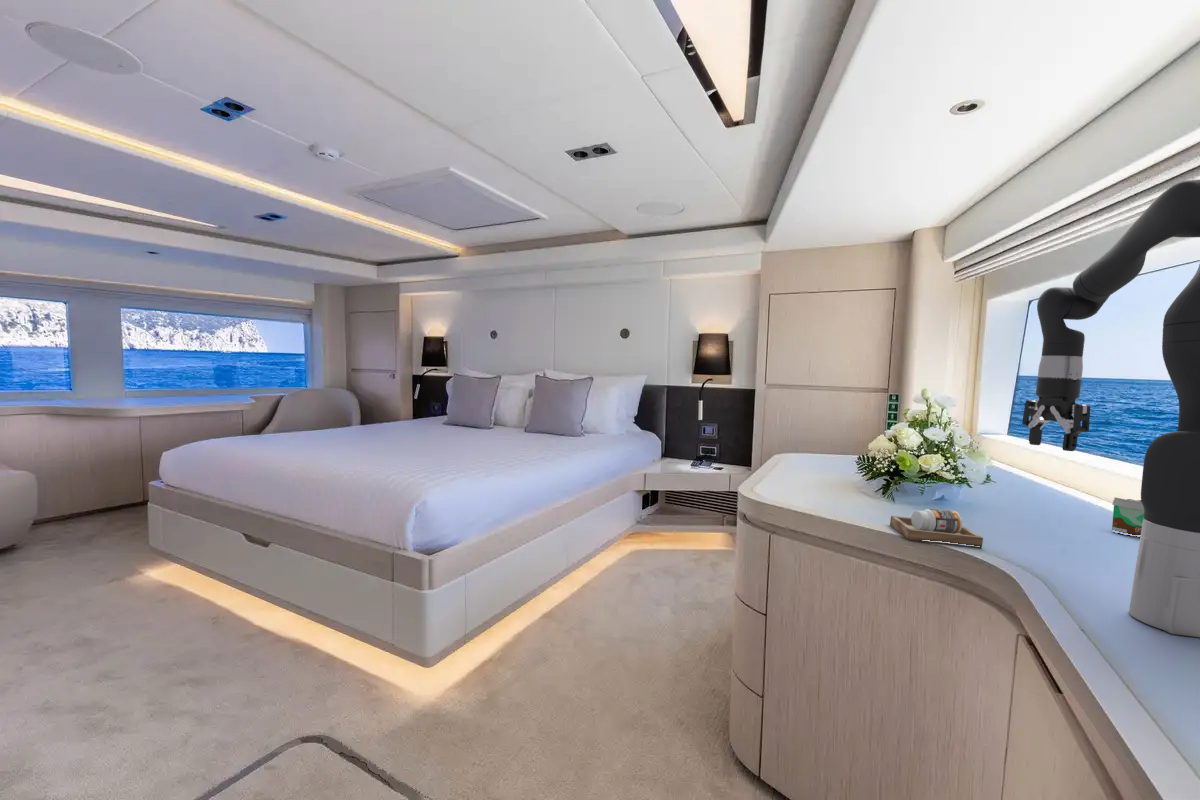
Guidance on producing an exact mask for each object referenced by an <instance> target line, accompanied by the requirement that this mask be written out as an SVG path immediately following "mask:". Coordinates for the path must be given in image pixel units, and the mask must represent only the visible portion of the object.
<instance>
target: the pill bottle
mask: <svg viewBox="0 0 1200 800" xmlns="http://www.w3.org/2000/svg"><path fill="white" fill-rule="evenodd" d="M910 518H911V521H912V525H913V527H914V528H915V529H917V530H925V531H934V532H944V533H953V534H956V533H959V532H960V531H961V529H962V526H963V518H962V517H961V515H960V514H959V512H957V511H956V510H951V509H950V510H949V509H933V508H925V509H923V510H914V511H913V512H912V514H911V517H910Z"/></svg>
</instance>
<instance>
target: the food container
mask: <svg viewBox="0 0 1200 800" xmlns="http://www.w3.org/2000/svg"><path fill="white" fill-rule="evenodd" d="M1112 505H1113V512H1112V514H1113V515H1112V525H1111V531H1112V530H1115V531H1119V532H1123V533H1128V534H1132V535H1141V530H1142V524H1143V518H1144V507H1143V504H1142V502H1141V499H1138V500H1137V499H1131V498H1128V499H1125V498H1119V497H1114V498H1113V500H1112Z"/></svg>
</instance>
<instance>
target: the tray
mask: <svg viewBox="0 0 1200 800" xmlns="http://www.w3.org/2000/svg"><path fill="white" fill-rule="evenodd" d="M889 526H891V527H892V528H893V527H894V528H893V529H894V530H896V531H897V530H898V531H899V532H898V531H897V532H898V533H900V534H901V533H902V534H903V535H904V537H905V538H906V539H907V540H909V541H914V542H922V540H930V541H942V542H950V543H958V544H966V545H974V546H980V547H982V548H983V543H984V537H983V536H980V535H979V534H977V533H975V531H973V530H970V529H969V528H967V527H965V526H963V525H962V529H961V531H960V532H959V533H956V534H953V533H944V532H934V531H925V530H917V529H915V528H914V527H913V525H912V521H911V517H907V516H897V515H891V516H890V521H889ZM902 534H901V535H902ZM903 535H902V536H903Z"/></svg>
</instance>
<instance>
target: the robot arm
mask: <svg viewBox="0 0 1200 800" xmlns="http://www.w3.org/2000/svg"><path fill="white" fill-rule="evenodd" d="M1171 238H1200V179H1199V178H1198V179H1190V180H1183V181H1181V182H1177V183H1174V184H1173V185H1172V186H1170V187H1168V188H1167V189H1165V190H1164V191H1163V192H1162V193H1161V194H1160V195H1159V196H1158V197H1157V198H1156V199H1155V200H1154V201H1153V202H1151V204H1150V205H1149V206H1148V207H1147V208H1146V209H1145V210H1144V212H1143V213H1142V214H1141V215H1140V216H1139V217H1138V218H1137V219H1136V220H1135V221H1134V223H1133V224H1131V226H1130V227H1129V228H1128V229H1127V230H1126V231H1125V233H1124V234H1123V235H1122V236H1121V237H1120V238H1119V239H1118V240H1117V242H1115V244H1113V246H1112V247H1110V248H1109V249H1108V250H1107V252H1105V253H1104V254H1102V256H1101V257H1099V258H1098V259H1097V260H1095V261H1094V262H1093V263H1091V264H1090V265H1089V266H1087V267H1086V268H1085V269H1083V270H1082V271H1081V272H1080V273H1079V274H1078V275H1077V276H1075V278H1074V279H1073V281H1072V282H1073V283H1072V287H1067V286H1066V287H1064V286H1062V287H1061V286H1060V287H1059V286H1058V287H1057V286H1053V287H1049V288H1047V289H1046V290H1044V291H1043V292H1042V293H1041V294H1040V295H1039V298H1038V299H1037V305H1036V309H1037V310H1036V311H1037V316H1038V319H1039V325H1040V328H1041V334H1042V338H1043V339H1042V340H1043V341H1042V349H1041V357H1040V361H1039V365H1038V371H1037V372H1038V373H1037V379H1036V390H1035V395H1036V397H1038V400H1028V399H1027V400H1026V401H1025V404H1024V409H1023V414H1022V420H1021V421H1022V422H1021V424H1022V425H1024V426H1026V427H1027V428H1029V432H1028V434H1029V435H1028V441H1029V442H1028V443H1029V444H1030V445H1031V446H1032V445H1033V446H1040V445H1041V444H1042V436H1043V428H1044V426H1045V425H1047V424H1048V423H1050V422H1057V423H1058V425H1059V426H1061V427H1062V429H1063V431H1064V433H1063V439H1062V450H1063V451H1066V452H1074V451H1075V450H1076V449H1077V447H1078V445H1077V444H1078V439H1079V437H1078V436H1079V435H1080V434H1083V433H1088V432H1089V431H1090V421H1091V420H1090V419H1091V405H1090V404H1083V403H1082V404H1081V403H1080V404H1079V403H1076V399H1079V398H1080V394H1081V388H1082V387H1081V386H1082V378H1083V368H1084V366H1083V365H1084V364H1083V362H1084V360H1083V359H1084V358H1083V356H1084V350H1085V349H1084V347H1085V341H1086V340H1085V339H1086V337H1085V334H1084V332H1082V331H1080V330H1077V329H1073V328H1069V327H1068V326H1067V324H1066V322H1065V320H1071V321H1073V320H1074V321H1079V320H1080V321H1081V320H1082V321H1083V320H1086V319H1089V318H1091V317H1093V316H1094V315H1096V314H1097V313H1098V312H1099V311H1100V309H1101V308H1102V307H1103V305H1104V304H1105V303H1106V302H1107V301H1108V299H1109V298H1110V297H1111V295H1113V294H1114V293H1116V292H1118V291H1119V290H1120V289H1122V288H1124V286H1127V285H1128V284H1129V283H1131V282H1132V281H1133V280H1134V279H1135V278H1136V277H1138V275H1139V274H1140V273H1141V271H1142V269H1143V268H1144V265H1145V261H1146V257H1147V254H1148V252H1149V251H1150V250H1151V249H1152V248H1154V247H1156V246H1157V245H1159V244H1160V243H1162V242H1164V241H1166V240H1169V239H1171ZM1161 343H1162V345H1161V348H1162V349H1161V353H1162V358H1163V362H1164V365H1165V368H1166V372H1167V374H1168V376H1169V379H1170V381H1171V383H1172V385H1173V388H1174V390H1175V392H1176V395H1177V400H1178V410H1179V411H1178V423H1177V430H1176V431H1171V432H1170V431H1169V432H1167V433H1164V434H1162V435H1159V436H1157V437H1156V438H1155V439H1153V440H1152V442H1151V443H1150V444H1149V446H1148V448H1147V449H1146V452H1145V456H1144V458H1143V459H1144V461H1143V467H1142V475H1141V477H1142V478H1141V487H1140V500H1141V502H1142V504H1143V507H1144V518H1143V524H1142V530H1141V536H1140V538H1139V543H1138V549H1137V556H1136V562H1135V568H1134V569H1135V570H1134V574H1133V582H1132V587H1131V596H1130V602H1129V610H1128V613H1129V615H1130V616H1131V617H1133V618H1134V619H1136V620H1137V621H1140V622H1142V623H1143V624H1146V625H1148V626H1152V627H1153V628H1157V629H1160V630H1163V631H1165V632H1167V633H1168V634H1172V635H1178V636H1180V635H1181V636H1187V637H1194V638H1195V637H1196V638H1200V263H1199V264H1198V268H1197V270H1196V272H1195V274H1194V275H1193V276H1192V278H1191V279H1190V281H1189V282H1188V283H1187V285H1186V286H1185V287H1184V288H1183V290H1181V292H1180V293H1179V294H1178V295H1177V297H1176V298H1175V299H1174V300H1173V302H1172V303H1171V304H1170V306H1169V308H1167V311H1166V312H1165V314H1164V318H1163V321H1162V341H1161Z"/></svg>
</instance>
